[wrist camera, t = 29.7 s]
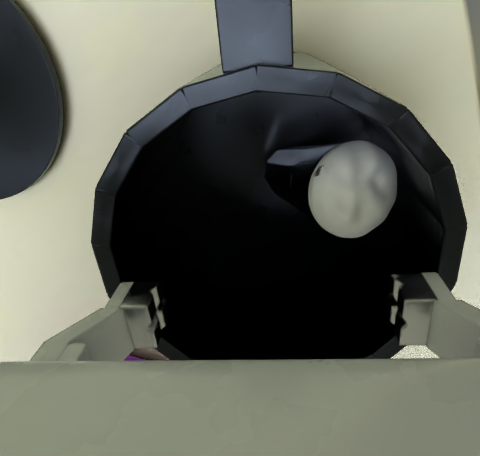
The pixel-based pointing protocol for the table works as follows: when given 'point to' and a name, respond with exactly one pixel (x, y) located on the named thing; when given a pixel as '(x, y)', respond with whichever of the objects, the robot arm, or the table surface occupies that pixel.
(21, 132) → the pot lid
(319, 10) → the table surface
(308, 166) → the milkshake
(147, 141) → the pot
